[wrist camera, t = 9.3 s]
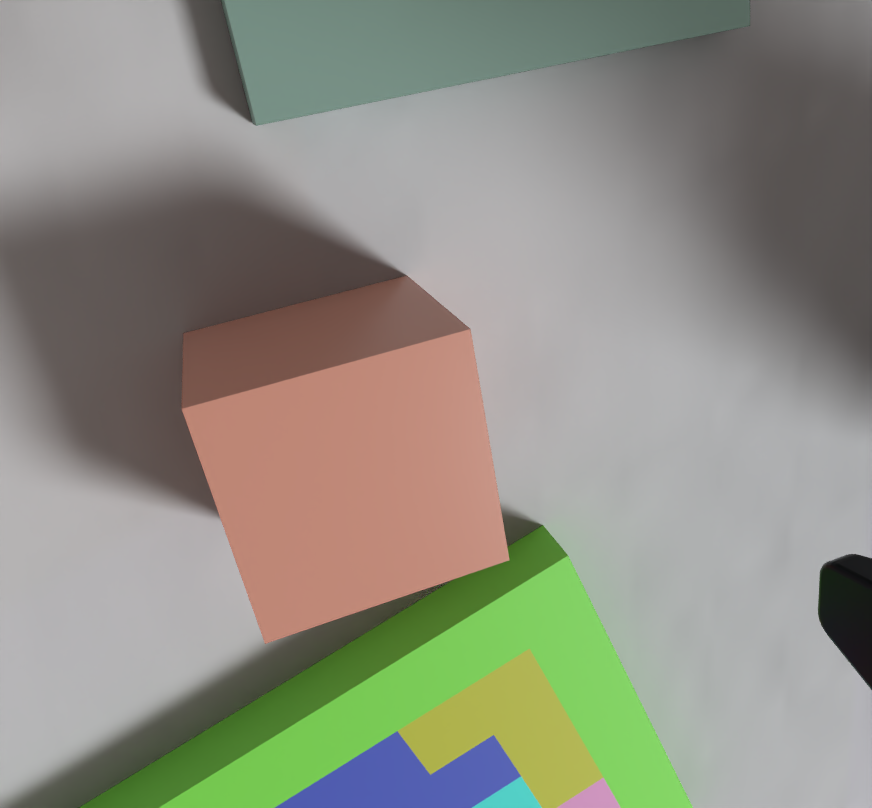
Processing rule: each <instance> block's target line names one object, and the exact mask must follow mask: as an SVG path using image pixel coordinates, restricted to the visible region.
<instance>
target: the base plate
mask: <svg viewBox="0 0 872 808" xmlns="http://www.w3.org/2000/svg"><path fill="white" fill-rule="evenodd" d="M221 2H222V6H223V10H224V14H225V18H226V22H227V25H228V29H229V33H230V37H231V41H232V45H233V49H234V53H235V56H236V60H237V64H238V68H239V72H240V76H241V80H242V84H243V87H244V91H245V95H246V99H247V103H248V107H249V111H250V115H251V118H252V122H253V124H254V125H256V126H258V125H262V124H267V123H272V122H277V121H282V120H287V119H292V118H297V117H302V116H307V115H312V114H317V113H322V112H327V111H332V110H337V109H342V108H347V107H351V106H356V105H361V104H366V103H371V102H376V101H381V100H386V99H391V98H396V97H401V96H406V95H411V94H416V93H421V92H426V91H431V90H436V89H440V88H445V87H450V86H455V85H460V84H465V83H470V82H475V81H480V80H485V79H490V78H495V77H500V76H505V75H510V74H515V73H520V72H525V71H530V70H534V69H539V68H544V67H549V66H554V65H559V64H564V63H569V62H574V61H579V60H584V59H589V58H594V57H599V56H604V55H609V54H614V53H619V52H623V51H628V50H633V49H638V48H643V47H648V46H653V45H658V44H663V43H668V42H673V41H678V40H683V39H688V38H693V37H698V36H703V35H708V34H713V33H717V32H722V31H727V30H732V29H737V28H742V27H747V26H750V0H221Z"/></svg>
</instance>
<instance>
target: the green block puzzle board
mask: <svg viewBox="0 0 872 808" xmlns="http://www.w3.org/2000/svg"><path fill="white" fill-rule="evenodd" d="M507 548H508V554H509V561H506V562H503V563H500V564H497V565H494V566H491V567H488V568H485V569H482V570H479V571H477V572H474V573H471V574H468V575H465V576H462V577H459V578H456V579H454V580H452V581H451V582H449V583H447V584H446V585H444V586H442V587H441V588H439V589H437V590H436V591H434V592H432V593H431V594H429V595H427V596H426V597H424V598H423V599H421V600H419V601H418V602H416V603H414V604H413V605H411V606H409V607H408V608H406V609H404V610H403V611H401V612H400V613H398V614H396V615H395V616H393V617H391V618H390V619H388V620H386V621H385V622H383V623H381V624H380V625H378V626H377V627H375V628H373V629H372V630H370V631H368V632H367V633H365V634H363V635H362V636H360V637H358V638H357V639H355V640H354V641H352V642H350V643H349V644H347V645H345V646H344V647H342V648H340V649H339V650H337V651H335V652H334V653H332V654H331V655H329V656H327V657H326V658H324V659H322V660H321V661H319V662H317V663H316V664H314V665H312V666H311V667H309V668H308V669H306V670H304V671H303V672H301V673H299V674H298V675H296V676H294V677H293V678H291V679H289V680H288V681H286V682H285V683H283V684H281V685H280V686H278V687H276V688H275V689H273V690H271V691H270V692H268V693H266V694H265V695H263V696H262V697H260V698H258V699H257V700H255V701H253V702H252V703H250V704H248V705H247V706H245V707H243V708H242V709H240V710H239V711H237V712H235V713H234V714H232V715H230V716H229V717H227V718H225V719H224V720H222V721H220V722H219V723H217V724H216V725H214V726H212V727H211V728H209V729H207V730H206V731H204V732H202V733H201V734H199V735H197V736H196V737H194V738H193V739H191V740H189V741H188V742H186V743H184V744H183V745H181V746H179V747H178V748H176V749H174V750H173V751H171V752H170V753H168V754H166V755H165V756H163V757H161V758H160V759H158V760H156V761H155V762H153V763H151V764H150V765H148V766H146V767H145V768H143V769H142V770H140V771H138V772H137V773H135V774H133V775H132V776H130V777H128V778H127V779H125V780H123V781H122V782H120V783H119V784H117V785H115V786H114V787H112V788H110V789H109V790H107V791H105V792H104V793H102V794H100V795H99V796H97V797H96V798H94V799H92V800H91V801H89V802H87V803H86V804H84V805H82V806H81V807H79V808H693V807H692V805H691V803H690V801H689V799H688V797H687V795H686V793H685V791H684V789H683V787H682V785H681V783H680V781H679V779H678V777H677V775H676V773H675V771H674V769H673V767H672V765H671V763H670V761H669V759H668V757H667V755H666V752H665V750H664V748H663V746H662V744H661V742H660V740H659V738H658V736H657V734H656V732H655V730H654V728H653V726H652V724H651V722H650V720H649V718H648V716H647V714H646V712H645V710H644V708H643V706H642V704H641V702H640V700H639V698H638V696H637V694H636V692H635V690H634V688H633V686H632V684H631V682H630V680H629V678H628V676H627V674H626V672H625V670H624V668H623V666H622V664H621V662H620V660H619V658H618V655H617V653H616V651H615V649H614V647H613V645H612V643H611V641H610V639H609V637H608V635H607V633H606V631H605V629H604V627H603V625H602V623H601V621H600V619H599V617H598V615H597V613H596V611H595V609H594V607H593V605H592V603H591V601H590V599H589V597H588V595H587V593H586V591H585V589H584V587H583V585H582V583H581V581H580V579H579V577H578V575H577V573H576V571H575V569H574V567H573V565H572V563H571V561H570V559H569V556H568V555H567V554H566V552H565V551H564V550H563V549H562V548H561V546H560V545H559V544H558V543H557V542H556V540H555V539H554V538H553V537H552V536H551V534H550V533H549V532H548V531H547V530H546V528H545V527H544V526H541V527H539V528H538V529H536V530H534V531H533V532H531V533H529V534H528V535H526V536H524V537H523V538H521V539H520V540H518V541H516V542H515V543H513V544H511V545H510V546H508V547H507Z"/></svg>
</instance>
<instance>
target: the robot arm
mask: <svg viewBox="0 0 872 808" xmlns="http://www.w3.org/2000/svg"><path fill="white" fill-rule="evenodd" d="M818 615H819V620H820V622H821V625H822V627H823V629H824V631H825V632H826V633H827V635H828V636H829V637H830V639H831V640H832V641H833V642H834V644H835V645H836V646H837V647H838V649H839V650H840V651H841V652H842V654H843V655H844V656H845V657H846V659H847V660H848V661H849V662H850V664H851V665H852V666H853V667H854V668H855V670H856V671H857V672H858V673H859V675H860V676H861V677H862V678H863V680H864V681H865V682H866V683H867V685H868V686H869V687H870V688H871V690H872V558H868V557H865V556H861V555H857V554H849V555H845V556H842V557H840V558H837V559H834V560H832V561H829V562H827V563H825V564H824V565H823V566H822V568H821V570H820V581H819V601H818Z"/></svg>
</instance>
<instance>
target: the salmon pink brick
mask: <svg viewBox="0 0 872 808" xmlns="http://www.w3.org/2000/svg"><path fill="white" fill-rule="evenodd" d="M182 411H183V414H184V417H185V420H186V423H187V426H188V428H189V431H190V434H191V437H192V440H193V442H194V445H195V448H196V451H197V454H198V456H199V459H200V462H201V465H202V468H203V470H204V473H205V476H206V479H207V482H208V484H209V487H210V490H211V493H212V496H213V499H214V501H215V504H216V507H217V510H218V513H219V515H220V518H221V521H222V524H223V527H224V529H225V532H226V535H227V538H228V541H229V543H230V546H231V549H232V552H233V555H234V557H235V560H236V563H237V566H238V569H239V572H240V574H241V577H242V580H243V583H244V586H245V588H246V591H247V594H248V597H249V600H250V602H251V605H252V608H253V611H254V614H255V616H256V619H257V622H258V625H259V628H260V630H261V633H262V636H263V639H264V642H265V644H266V643H269V642H272V641H275V640H278V639H281V638H283V637H286V636H289V635H292V634H295V633H298V632H301V631H304V630H307V629H310V628H313V627H316V626H319V625H322V624H324V623H327V622H330V621H333V620H336V619H339V618H342V617H345V616H348V615H351V614H354V613H357V612H360V611H362V610H365V609H368V608H371V607H374V606H377V605H380V604H383V603H386V602H389V601H392V600H395V599H398V598H400V597H403V596H406V595H409V594H412V593H415V592H418V591H421V590H424V589H427V588H430V587H433V586H436V585H438V584H441V583H444V582H447V581H450V580H453V579H456V578H459V577H462V576H465V575H468V574H471V573H474V572H477V571H479V570H482V569H485V568H488V567H491V566H494V565H497V564H500V563H503V562H506V561H509V554H508V548H507V542H506V536H505V530H504V524H503V519H502V513H501V507H500V501H499V495H498V489H497V483H496V477H495V471H494V465H493V460H492V454H491V448H490V442H489V436H488V430H487V424H486V418H485V412H484V406H483V400H482V395H481V389H480V383H479V377H478V371H477V365H476V359H475V353H474V347H473V341H472V335H471V330H470V328H469V327H467V326H466V325H465V324H464V323H463V322H461V321H460V320H459V319H458V318H457V317H456V316H454V315H453V314H452V313H451V312H450V311H448V310H447V309H446V308H445V307H444V306H442V305H441V304H440V303H439V302H438V301H437V300H435V299H434V298H433V297H432V296H431V295H429V294H428V293H427V292H426V291H425V290H424V289H422V288H421V287H420V286H419V285H418V284H416V283H415V282H414V281H413V280H412V279H410V278H409V277H408V276H403V277H399V278H395V279H391V280H387V281H384V282H380V283H376V284H372V285H368V286H364V287H360V288H356V289H353V290H349V291H345V292H341V293H337V294H333V295H329V296H325V297H322V298H318V299H314V300H310V301H306V302H302V303H298V304H294V305H291V306H287V307H283V308H279V309H275V310H271V311H267V312H263V313H260V314H256V315H252V316H248V317H244V318H240V319H236V320H233V321H229V322H225V323H221V324H217V325H213V326H209V327H205V328H202V329H198V330H194V331H190V332H186V333H183V371H182Z"/></svg>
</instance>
